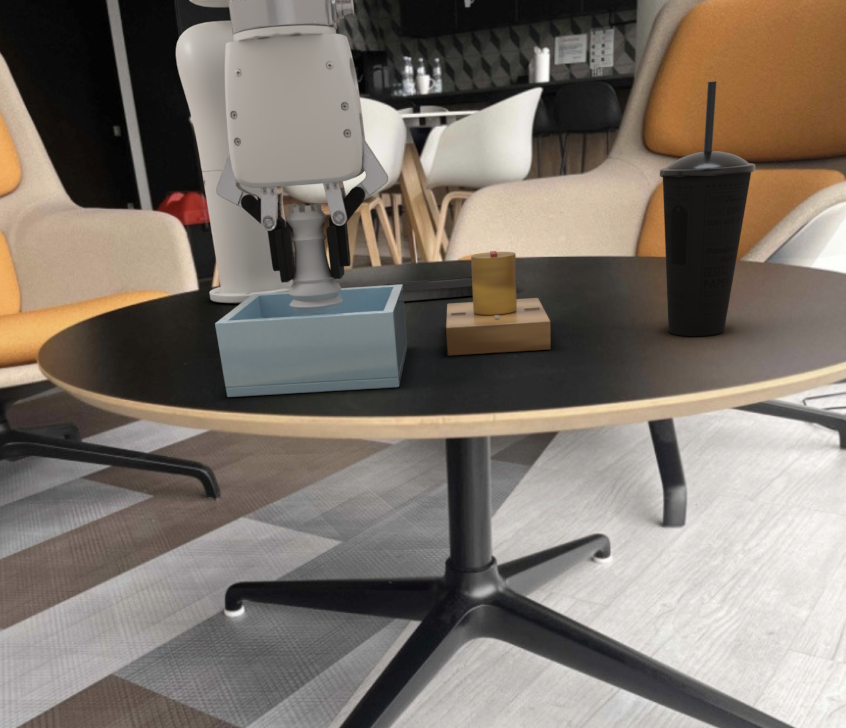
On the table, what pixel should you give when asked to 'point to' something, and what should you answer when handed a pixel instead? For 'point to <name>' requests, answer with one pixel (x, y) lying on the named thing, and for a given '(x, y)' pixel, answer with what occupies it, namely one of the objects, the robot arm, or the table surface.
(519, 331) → the panel
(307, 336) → the basin
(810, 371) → the table surface
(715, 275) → the drinking cup
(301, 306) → the rook chess piece
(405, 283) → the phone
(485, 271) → the red-marked tan cylinder
